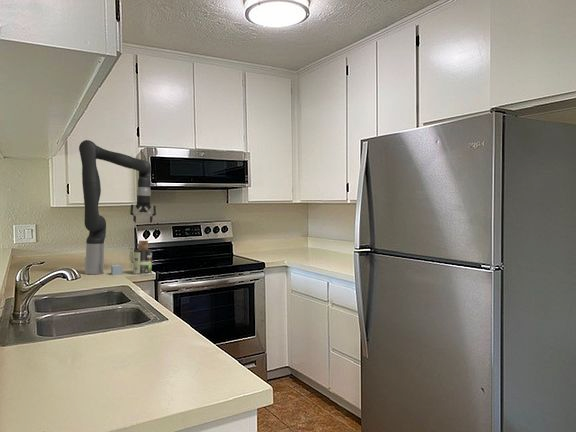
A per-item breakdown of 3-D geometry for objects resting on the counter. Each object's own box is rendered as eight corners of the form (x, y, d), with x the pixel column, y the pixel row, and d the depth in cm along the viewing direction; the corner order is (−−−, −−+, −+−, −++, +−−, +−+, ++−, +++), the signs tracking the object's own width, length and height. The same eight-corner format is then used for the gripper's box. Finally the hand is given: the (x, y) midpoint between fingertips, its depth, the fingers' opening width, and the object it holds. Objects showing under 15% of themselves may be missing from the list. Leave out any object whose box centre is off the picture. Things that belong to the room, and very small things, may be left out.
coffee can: (154, 272, 254) (154, 249, 254) (148, 275, 244) (148, 250, 244) (136, 272, 254) (137, 248, 254) (130, 274, 244) (130, 250, 244)
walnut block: (138, 250, 246) (138, 241, 246) (138, 249, 251) (139, 240, 250) (147, 250, 247) (147, 241, 247) (147, 249, 252) (148, 240, 252)
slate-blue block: (112, 275, 241) (112, 266, 241) (111, 273, 246) (111, 265, 245) (122, 274, 244) (122, 265, 244) (120, 273, 248) (120, 264, 248)
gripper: (130, 194, 247) (129, 222, 247) (156, 195, 251) (155, 223, 251) (131, 194, 254) (130, 222, 254) (156, 195, 258) (155, 222, 259)
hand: (142, 222), depth 253 cm, fingers open, 8 cm apart
